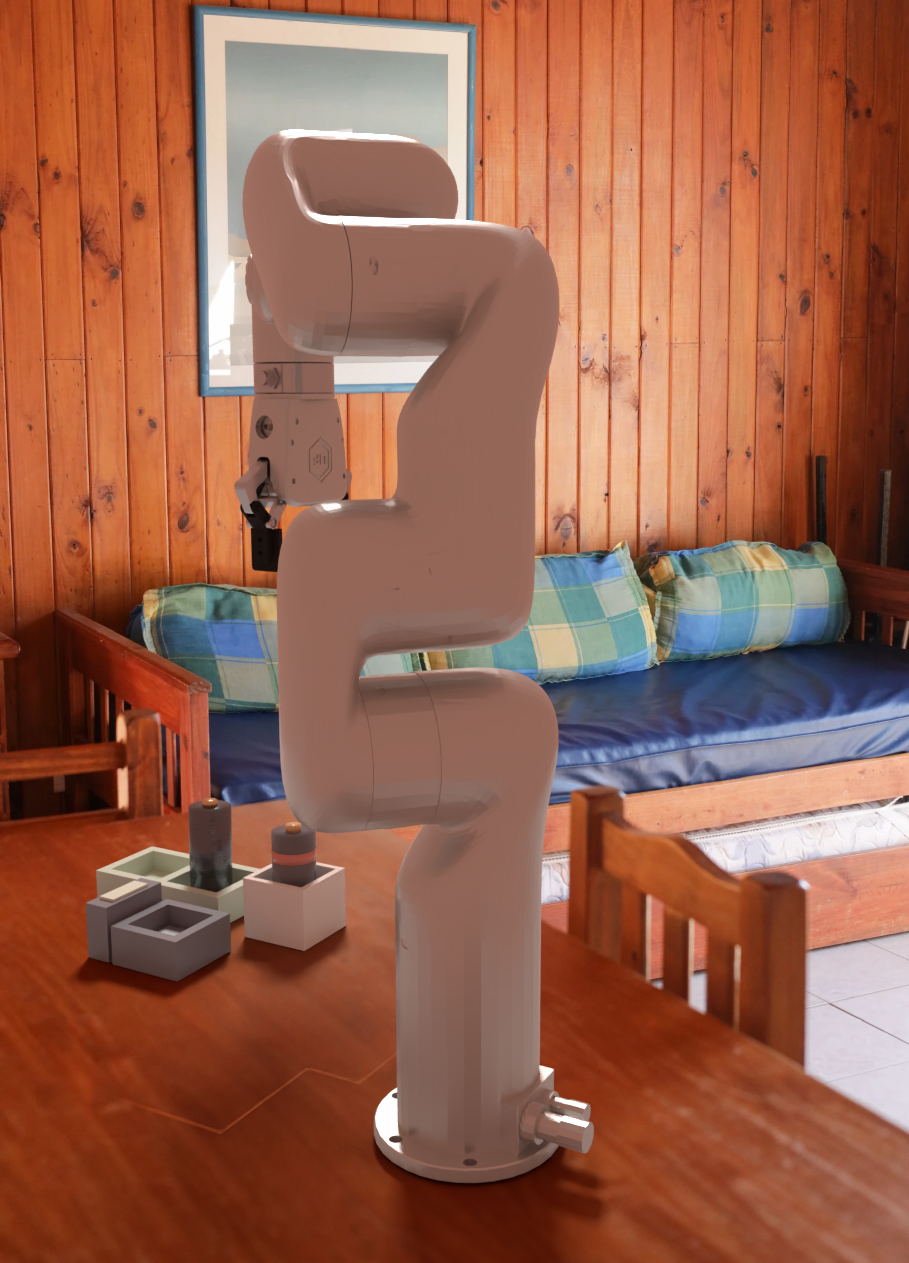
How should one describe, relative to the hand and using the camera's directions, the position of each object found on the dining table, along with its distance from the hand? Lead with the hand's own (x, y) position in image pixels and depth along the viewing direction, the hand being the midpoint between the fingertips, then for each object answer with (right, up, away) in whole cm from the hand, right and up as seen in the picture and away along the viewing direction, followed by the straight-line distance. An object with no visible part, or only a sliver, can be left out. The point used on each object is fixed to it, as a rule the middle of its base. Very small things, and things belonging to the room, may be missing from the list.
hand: (298, 564), depth 130 cm
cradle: (-11, -35, -11) cm, 38 cm away
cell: (-8, -32, 0) cm, 33 cm away
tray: (-11, -33, +2) cm, 34 cm away
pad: (-10, -36, -11) cm, 39 cm away
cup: (0, -34, -6) cm, 34 cm away
